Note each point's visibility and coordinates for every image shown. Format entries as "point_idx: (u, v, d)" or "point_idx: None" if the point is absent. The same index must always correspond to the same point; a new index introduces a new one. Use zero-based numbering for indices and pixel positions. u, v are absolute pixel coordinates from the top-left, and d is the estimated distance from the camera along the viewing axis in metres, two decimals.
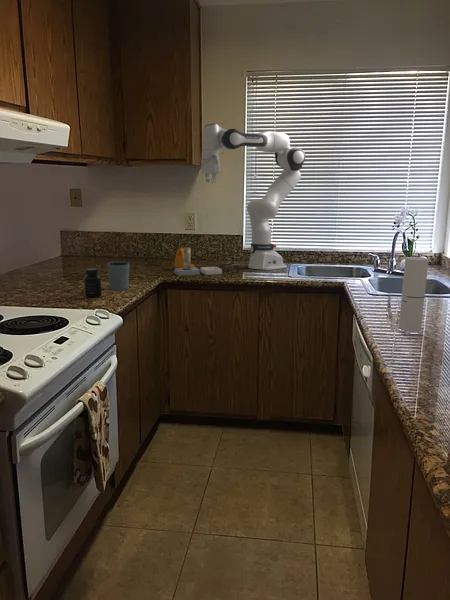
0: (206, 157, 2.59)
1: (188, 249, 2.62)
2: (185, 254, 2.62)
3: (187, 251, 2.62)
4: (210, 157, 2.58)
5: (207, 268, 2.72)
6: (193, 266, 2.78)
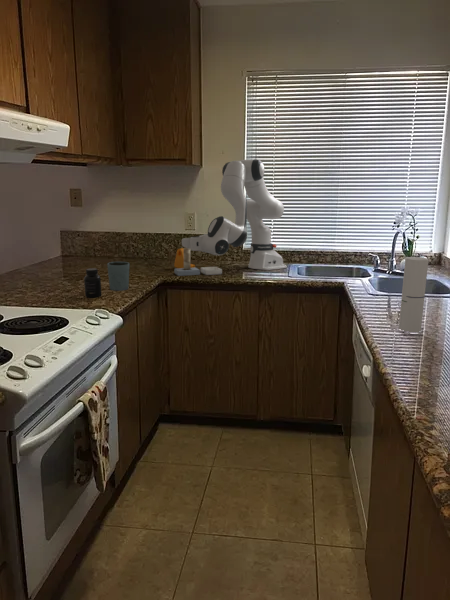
0: None
1: (188, 249, 2.62)
2: (185, 254, 2.62)
3: (187, 251, 2.62)
4: None
5: (207, 268, 2.72)
6: (193, 266, 2.78)
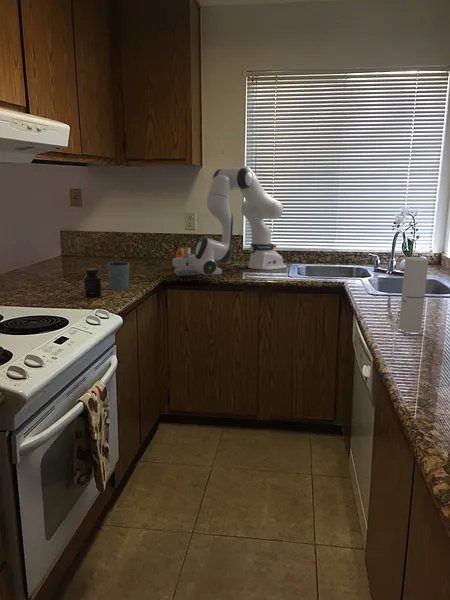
0: None
1: (188, 249, 2.62)
2: (186, 254, 2.62)
3: (187, 251, 2.62)
4: None
5: None
6: None
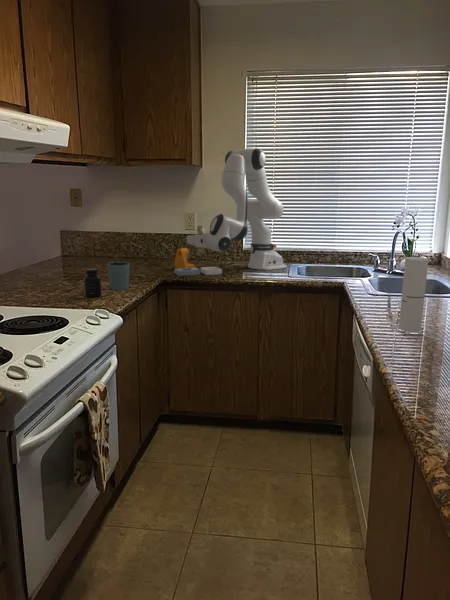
0: None
1: (202, 227, 2.61)
2: (199, 232, 2.61)
3: (201, 229, 2.61)
4: None
5: (207, 268, 2.72)
6: (193, 266, 2.78)
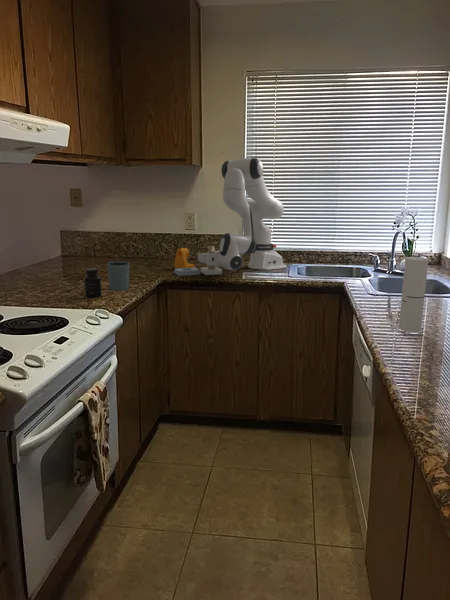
0: None
1: (212, 247, 2.64)
2: None
3: (211, 249, 2.64)
4: None
5: (207, 268, 2.72)
6: (193, 266, 2.78)
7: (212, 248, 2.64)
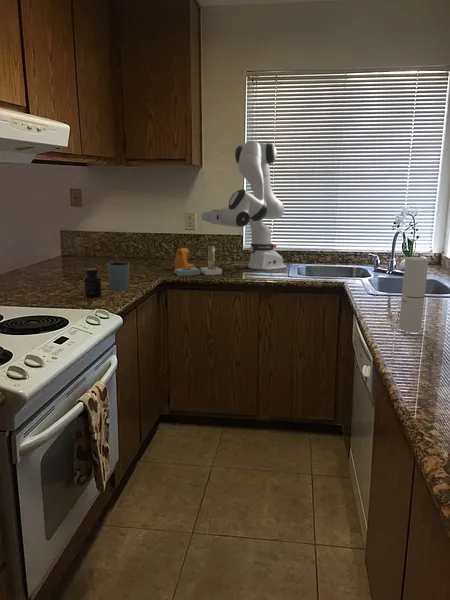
0: None
1: (213, 247, 2.64)
2: (210, 252, 2.64)
3: (212, 249, 2.64)
4: None
5: (207, 268, 2.72)
6: (193, 266, 2.78)
7: (212, 248, 2.64)
